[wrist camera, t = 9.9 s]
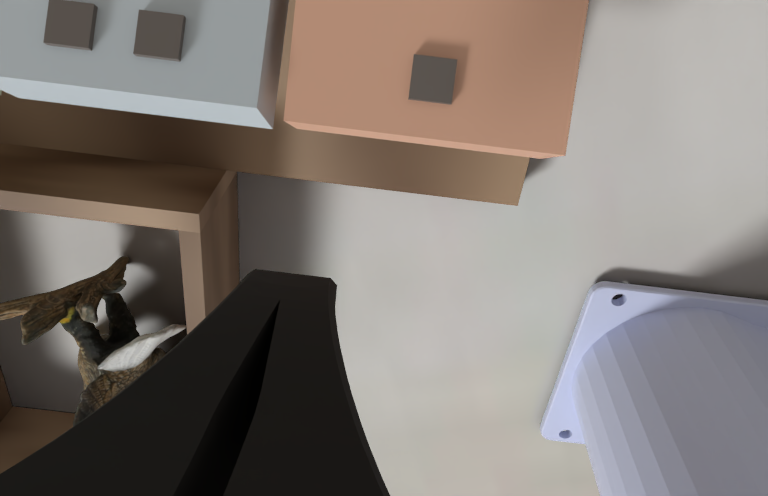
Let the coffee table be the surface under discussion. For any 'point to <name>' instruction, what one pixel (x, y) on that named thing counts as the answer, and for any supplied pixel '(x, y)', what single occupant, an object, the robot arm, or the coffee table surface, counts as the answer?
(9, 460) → the board
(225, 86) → the tile
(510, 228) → the coffee table surface
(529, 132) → the tile
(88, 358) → the eagle figurine
